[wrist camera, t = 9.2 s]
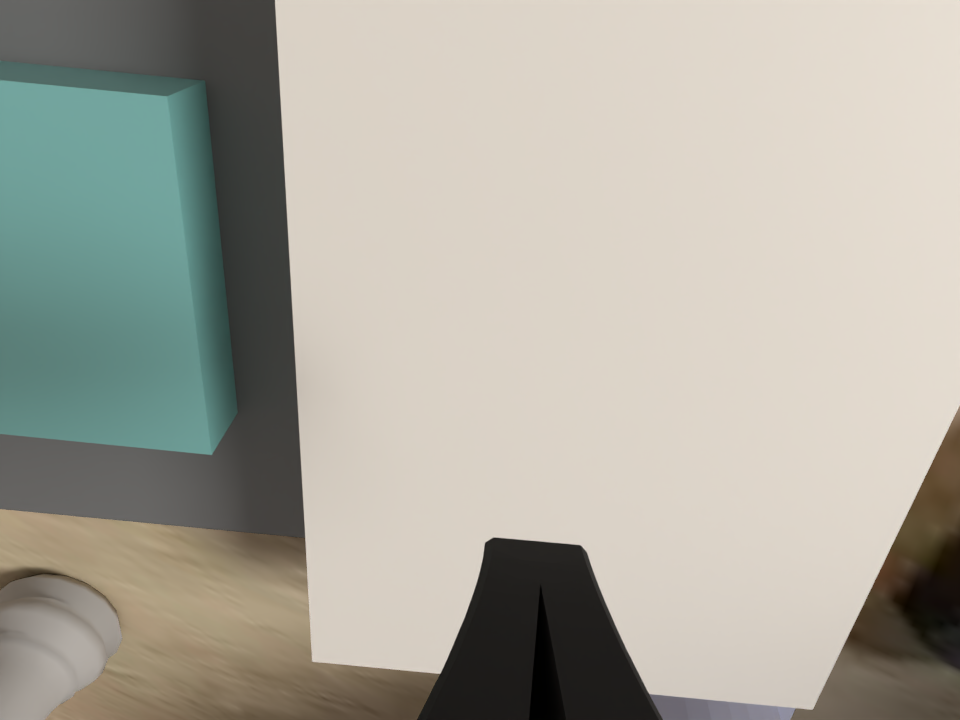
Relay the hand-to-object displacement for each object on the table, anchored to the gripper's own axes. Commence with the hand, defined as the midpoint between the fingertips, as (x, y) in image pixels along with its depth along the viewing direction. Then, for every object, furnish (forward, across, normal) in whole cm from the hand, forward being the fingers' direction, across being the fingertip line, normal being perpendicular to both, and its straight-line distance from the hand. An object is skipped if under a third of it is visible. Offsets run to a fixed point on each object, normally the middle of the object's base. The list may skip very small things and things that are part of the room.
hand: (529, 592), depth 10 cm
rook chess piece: (+10, +15, +14) cm, 23 cm away
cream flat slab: (+10, -2, 0) cm, 10 cm away
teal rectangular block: (+8, +11, 0) cm, 13 cm away
